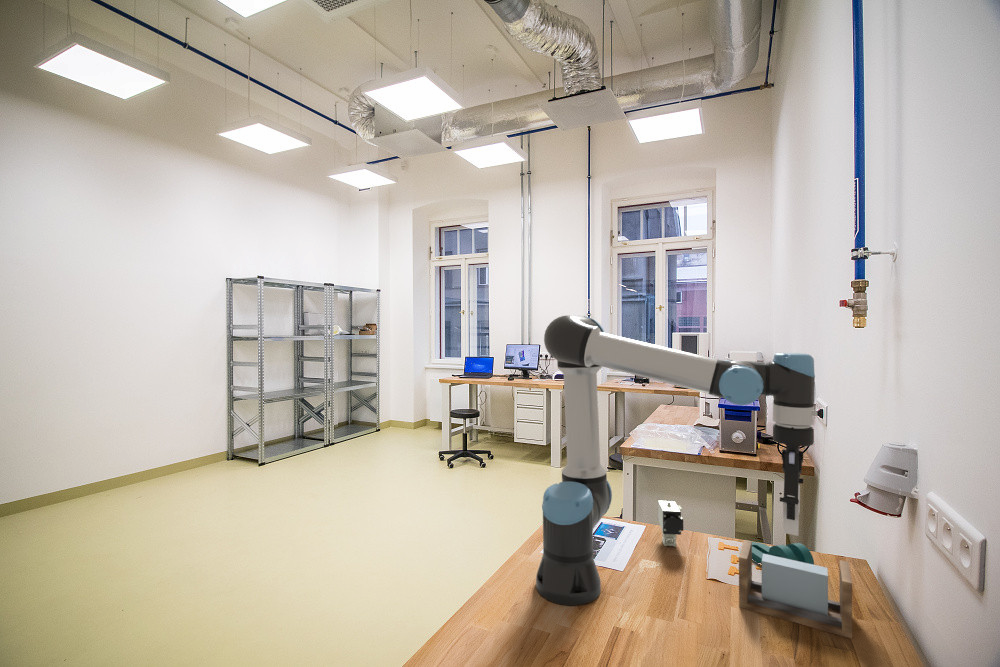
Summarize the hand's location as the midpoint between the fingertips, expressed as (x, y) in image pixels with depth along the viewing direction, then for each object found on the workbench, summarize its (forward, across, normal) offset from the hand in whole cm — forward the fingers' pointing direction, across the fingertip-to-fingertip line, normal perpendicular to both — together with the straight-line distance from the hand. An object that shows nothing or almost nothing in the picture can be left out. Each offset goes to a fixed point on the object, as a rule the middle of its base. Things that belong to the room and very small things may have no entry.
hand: (791, 522), depth 103 cm
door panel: (+18, 0, -1) cm, 18 cm away
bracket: (+20, +20, +4) cm, 28 cm away
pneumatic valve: (+20, +18, +30) cm, 40 cm away
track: (+19, 0, 0) cm, 19 cm away
